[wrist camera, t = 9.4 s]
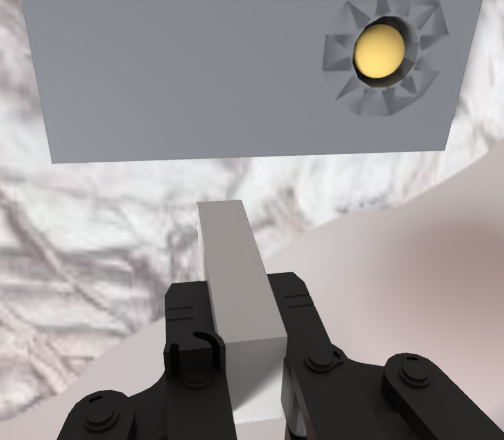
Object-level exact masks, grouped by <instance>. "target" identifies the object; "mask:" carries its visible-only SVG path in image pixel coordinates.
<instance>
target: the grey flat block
mask: <svg viewBox="0 0 504 440" xmlns="http://www.w3.org/2000/svg"><path fill="white" fill-rule="evenodd" d="M21 1H22V6H23V12H24V17H25V22H26V27H27V33H28V38H29V43H30V49H31V54H32V59H33V64H34V70H35V75H36V80H37V86H38V91H39V96H40V102H41V107H42V112H43V117H44V123H45V128H46V133H47V139H48V144H49V149H50V154H51V160H52V164H58V163H88V162H118V161H147V160H177V159H207V158H237V157H267V156H296V155H326V154H356V153H386V152H416V151H445V148H446V144H447V140H448V136H449V132H450V128H451V124H452V120H453V116H454V112H455V108H456V103H457V99H458V95H459V91H460V87H461V83H462V79H463V75H464V71H465V67H466V63H467V59H468V55H469V51H470V47H471V43H472V39H473V35H474V31H475V27H476V23H477V19H478V15H479V11H480V7H481V3H482V0H21ZM382 16H391V17H392V18H394V19H395V20H396V21H398V24H399V27H400V31H401V34H402V37H403V41H404V46H405V52H404V57H403V59H402V62H401V64H400V65H399V67H398V68H397V69H396V70H395V71H394V72H392V73H391V74H389V75H387V76H385V77H381V78H375V79H358V77H357V74H356V72H355V69H354V67H353V64H352V59H353V51H354V44H355V42H356V40H357V39H358V37H359V36H360V34H361V33H362V31H363V30H364V28H365V27H366V26H367V25H369V24H370V23H372V22H374V21H375V20H377V19H379V18H380V17H382Z"/></svg>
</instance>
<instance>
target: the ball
mask: <svg viewBox="0 0 504 440" xmlns="http://www.w3.org/2000/svg"><path fill="white" fill-rule="evenodd" d="M404 52H405V46H404V41H403V38H402V36H401V35H400V33H399V32H398V31H397V30H396V29H394V28H393V27H391V26H388V25H384V24H377V25H373V26H370V27H368V28H366V29H365V30H364V31H362V33H361V34H360V36H359V37H358V39H357V40H356V42H355V44H354V51H353V61H354V64H355V66H356V67H357V69H358V70H359V71H360V72H361V73H362V74H364V75H366V76H368V77H372V78H381V77H385V76H387V75H389V74H391V73H392V72H394V71H395V70H396V69H397V68H398V67H399V65H400V64H401V62H402V59H403V57H404Z"/></svg>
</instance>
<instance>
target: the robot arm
mask: <svg viewBox="0 0 504 440" xmlns="http://www.w3.org/2000/svg"><path fill="white" fill-rule="evenodd" d="M197 217H198V244H199V269H200V277H201V281H195V282H184V283H172V284H171V286H170V288H169V289H168V291H167V293H166V294H165V320H166V344H165V348H164V352H163V354H164V365H165V371H164V373H163V375H162V377H161V378H160V379H159V380H158V382H157V383H155V384H154V385H153V386H152V387H150V388H148V389H146V390H144V391H142V392H140V393H138V394H135V395H133V396H130V397H127V396H126V395H125V394H123V393H122V392H117V391H113V390H104V391H97V392H95V393H92V394H90V395H87V396H85V397H84V398H83V399H82V400H80V401H79V402H78V403H76V404H75V406H74V407H73V409H72V410H71V411H70V413H69V414H68V416H67V419H66V421H65V423H64V425H63V427H62V429H61V431H60V434H59V436H58V438H57V440H237V435H236V429H235V424H239V423H246V422H254V421H261V420H268V419H276V418H281V408H282V407H283V410H284V414H285V417H286V429H285V440H504V432H503V431H502V430H501V429H500V428H499V427H498V426H497V425H496V424H495V423H494V422H493V421H492V420H491V419H490V418H489V417H488V416H487V415H486V414H485V413H484V412H483V411H482V410H481V409H480V408H479V407H478V406H477V405H476V404H475V403H474V402H473V401H472V400H471V399H470V398H469V397H468V396H467V395H466V394H465V393H464V392H463V391H462V390H461V389H460V388H459V387H458V386H457V385H456V384H455V383H454V382H453V381H452V380H451V379H450V378H449V377H448V376H447V375H446V374H445V373H444V372H443V371H442V370H441V369H440V368H439V367H438V366H437V365H435V364H434V363H433V362H431V361H430V360H429V359H427V358H424V357H422V356H420V355H417V354H410V353H401V354H395V355H394V356H392V357H390V358H389V359H388V360H387V362H386V364H385V366H378V365H371V364H365V363H360V362H356V361H353V360H351V359H348V358H347V356H346V355H345V354H344V352H343V351H342V350H341V349H339V348H338V347H336V346H335V345H333V344H331V342H330V339H329V337H328V335H327V333H326V330H325V328H324V326H323V323H322V321H321V319H320V316H319V314H318V312H317V310H316V307H315V306H314V303H313V301H312V298H311V296H310V294H309V292H308V289H307V287H306V285H305V283H304V281H303V280H301V279H300V278H299V277H298V276H297V275H296V274H294V273H293V272H286V273H274V274H266V271H265V268H264V266H263V262H262V259H261V256H260V253H259V251H258V248H257V245H256V242H255V239H254V236H253V233H252V230H251V227H250V224H249V221H248V218H247V215H246V212H245V209H244V206H243V203H242V200H230V201H213V202H197Z"/></svg>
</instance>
